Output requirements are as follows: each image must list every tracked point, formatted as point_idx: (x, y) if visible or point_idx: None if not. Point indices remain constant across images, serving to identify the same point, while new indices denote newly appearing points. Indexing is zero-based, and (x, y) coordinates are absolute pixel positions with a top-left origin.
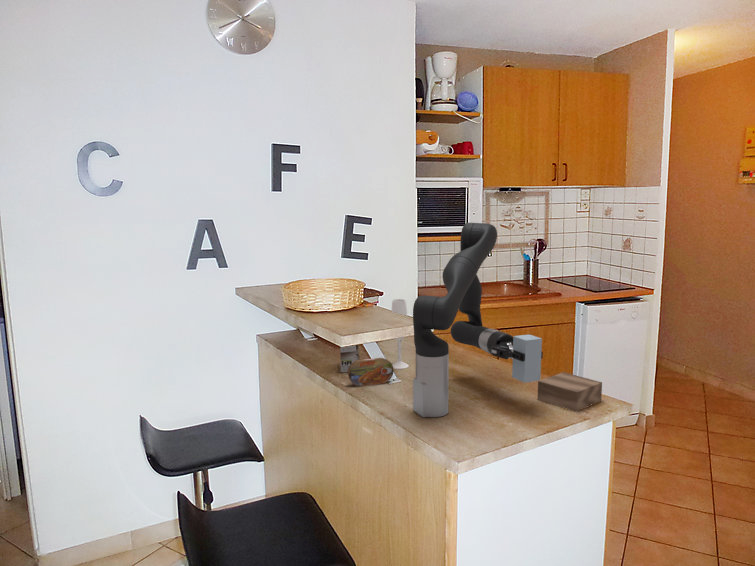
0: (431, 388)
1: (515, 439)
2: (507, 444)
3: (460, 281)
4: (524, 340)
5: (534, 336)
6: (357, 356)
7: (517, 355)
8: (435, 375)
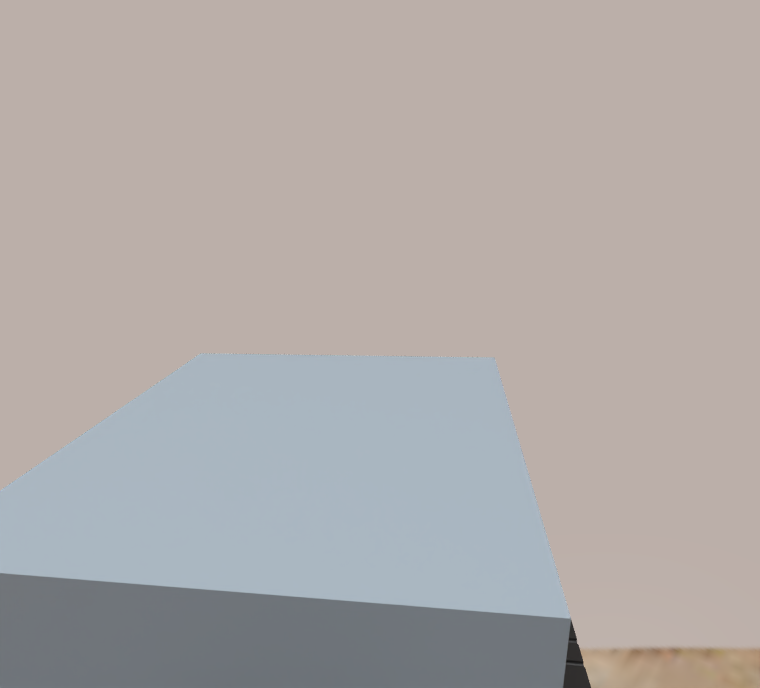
0: None
1: (692, 672)
2: (750, 654)
3: None
4: (497, 377)
5: (127, 418)
6: None
7: (573, 646)
8: None
